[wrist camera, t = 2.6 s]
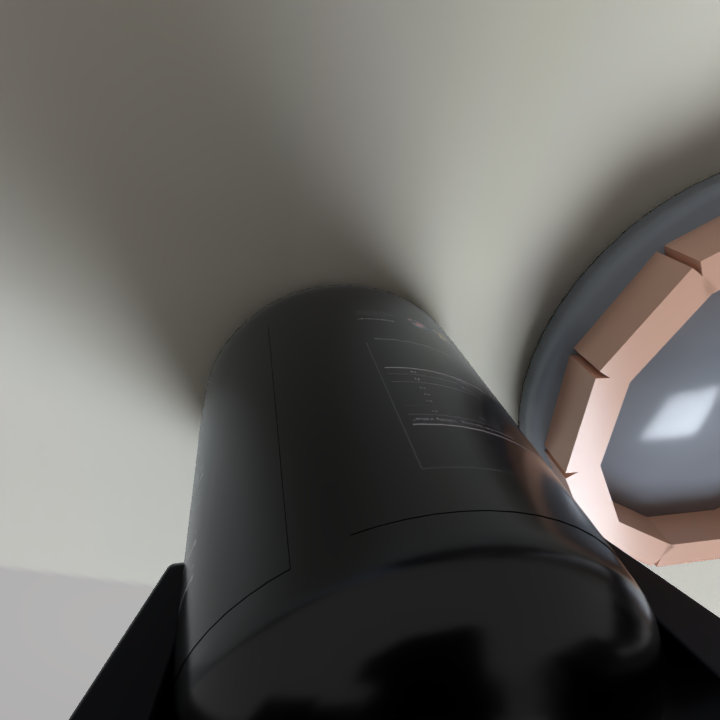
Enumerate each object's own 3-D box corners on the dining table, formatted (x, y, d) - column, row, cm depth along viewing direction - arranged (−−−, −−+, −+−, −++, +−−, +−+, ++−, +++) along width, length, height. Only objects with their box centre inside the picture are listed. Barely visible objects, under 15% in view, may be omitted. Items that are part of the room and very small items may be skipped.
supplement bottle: (360, 516, 17) (535, 1244, 6) (158, 432, 14) (-120, 1515, 3) (505, 356, 15) (1112, 1052, 4) (303, 217, 12) (672, 1326, 1)
